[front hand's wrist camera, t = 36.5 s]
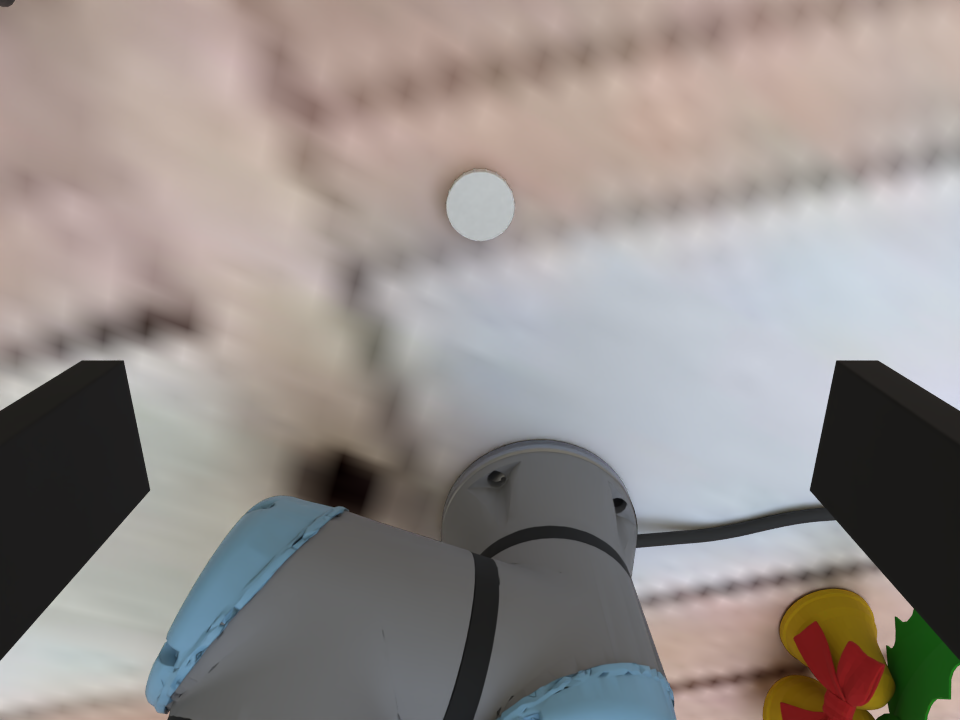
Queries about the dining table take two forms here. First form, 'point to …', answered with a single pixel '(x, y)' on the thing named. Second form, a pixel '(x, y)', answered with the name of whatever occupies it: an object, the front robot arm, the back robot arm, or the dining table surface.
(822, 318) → the dining table surface
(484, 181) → the cap
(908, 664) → the ornament
